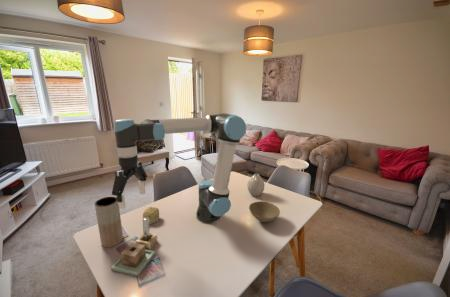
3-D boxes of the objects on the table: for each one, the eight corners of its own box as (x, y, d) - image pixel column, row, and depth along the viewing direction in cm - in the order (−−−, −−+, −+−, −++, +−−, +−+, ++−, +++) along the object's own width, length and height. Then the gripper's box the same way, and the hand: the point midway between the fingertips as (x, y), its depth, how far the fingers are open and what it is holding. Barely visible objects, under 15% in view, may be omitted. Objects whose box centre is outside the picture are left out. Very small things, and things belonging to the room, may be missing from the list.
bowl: (284, 220, 123) (285, 208, 121) (268, 234, 110) (269, 221, 108) (259, 208, 135) (259, 198, 133) (242, 220, 122) (242, 208, 120)
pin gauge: (151, 242, 103) (150, 217, 100) (147, 246, 100) (146, 220, 97) (146, 241, 103) (145, 216, 101) (142, 245, 101) (141, 220, 98)
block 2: (157, 240, 104) (156, 234, 103) (149, 250, 98) (148, 243, 97) (145, 238, 106) (144, 232, 105) (136, 248, 99) (135, 241, 98)
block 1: (145, 256, 94) (144, 245, 92) (135, 268, 87) (134, 256, 85) (132, 253, 95) (131, 242, 94) (122, 264, 89) (120, 253, 87)
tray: (155, 253, 96) (155, 251, 95) (137, 276, 83) (137, 273, 83) (131, 248, 99) (131, 246, 98) (111, 270, 86) (110, 267, 86)
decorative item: (149, 230, 118) (157, 219, 115) (136, 220, 118) (144, 208, 115) (157, 221, 127) (165, 211, 124) (145, 211, 127) (153, 201, 124)
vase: (265, 198, 148) (266, 177, 144) (247, 198, 149) (248, 177, 144) (262, 191, 161) (263, 171, 157) (246, 190, 161) (247, 171, 157)
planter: (108, 233, 109) (102, 195, 103) (126, 234, 109) (121, 196, 103) (96, 247, 99) (89, 206, 94) (116, 247, 99) (110, 206, 93)
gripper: (138, 148, 99) (142, 187, 104) (96, 163, 75) (104, 214, 81) (152, 149, 97) (155, 189, 103) (113, 165, 74) (120, 216, 79)
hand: (133, 200), depth 92 cm, fingers open, 13 cm apart
